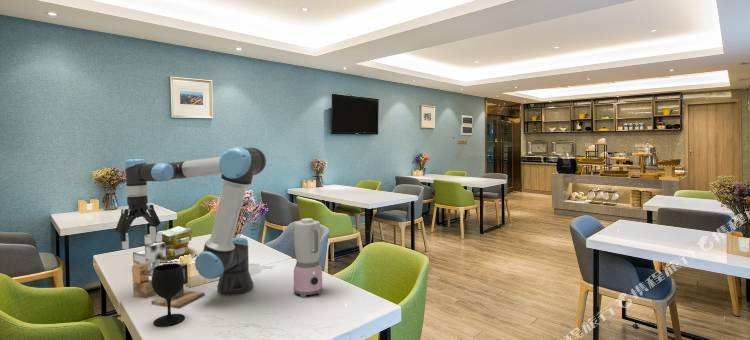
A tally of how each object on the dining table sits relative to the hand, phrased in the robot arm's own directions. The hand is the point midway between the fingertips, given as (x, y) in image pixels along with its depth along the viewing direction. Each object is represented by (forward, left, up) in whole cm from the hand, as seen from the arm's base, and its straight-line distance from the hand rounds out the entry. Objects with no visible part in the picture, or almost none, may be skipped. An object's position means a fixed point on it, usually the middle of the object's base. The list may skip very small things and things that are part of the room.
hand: (140, 245), depth 169 cm
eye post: (-20, 0, -21) cm, 28 cm away
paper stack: (+33, -52, -22) cm, 65 cm away
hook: (-7, 0, -16) cm, 17 cm away
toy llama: (+24, -26, -22) cm, 42 cm away
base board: (-20, 0, -22) cm, 29 cm away
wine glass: (-32, +17, -22) cm, 42 cm away
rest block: (-2, 0, -22) cm, 22 cm away
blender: (-69, -22, -22) cm, 75 cm away
